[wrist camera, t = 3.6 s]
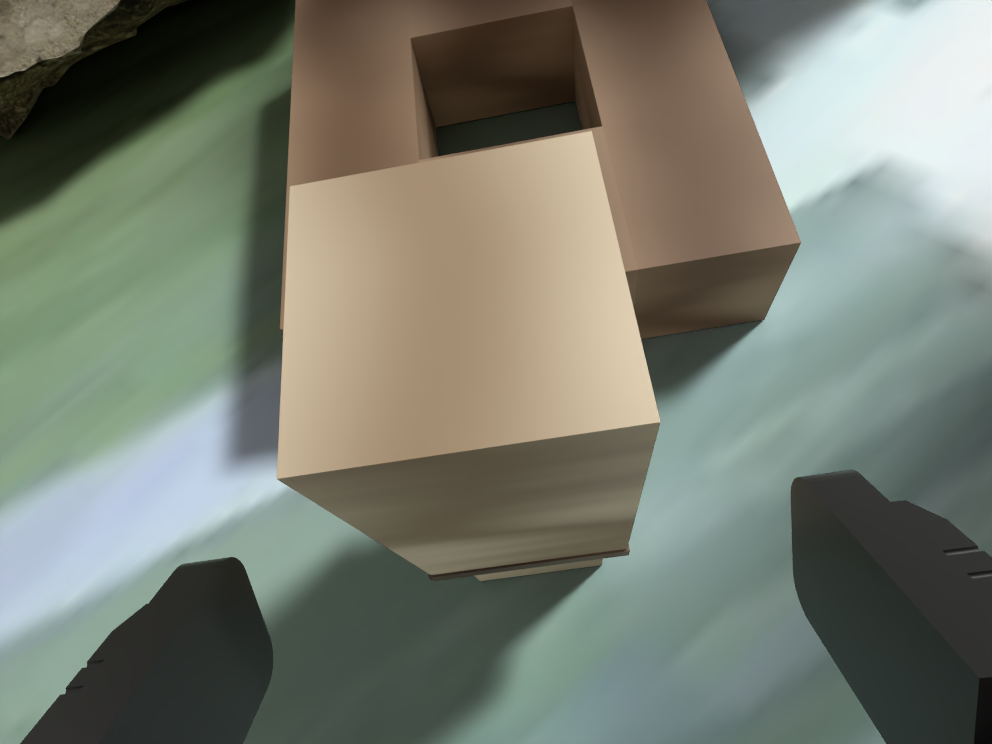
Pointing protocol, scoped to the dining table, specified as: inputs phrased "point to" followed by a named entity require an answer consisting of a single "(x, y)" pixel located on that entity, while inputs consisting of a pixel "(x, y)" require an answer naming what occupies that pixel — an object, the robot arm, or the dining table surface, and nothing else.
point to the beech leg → (467, 361)
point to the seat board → (602, 109)
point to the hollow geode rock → (57, 44)
